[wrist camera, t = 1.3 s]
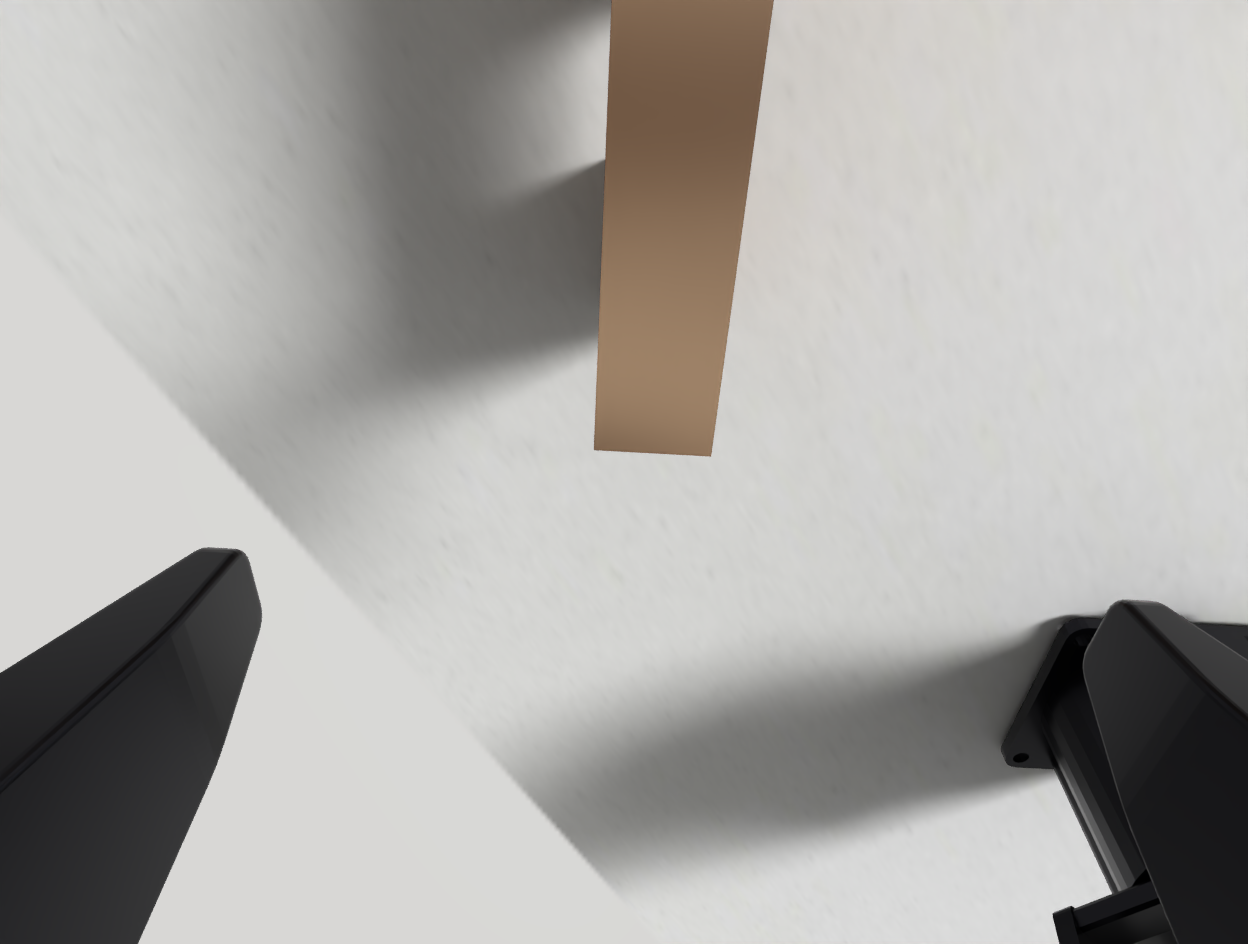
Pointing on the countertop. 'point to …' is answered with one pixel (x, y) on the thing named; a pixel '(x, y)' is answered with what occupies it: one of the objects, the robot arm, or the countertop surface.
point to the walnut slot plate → (673, 214)
